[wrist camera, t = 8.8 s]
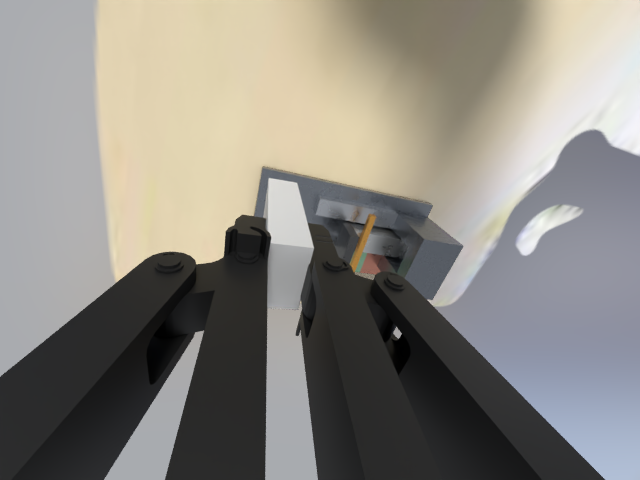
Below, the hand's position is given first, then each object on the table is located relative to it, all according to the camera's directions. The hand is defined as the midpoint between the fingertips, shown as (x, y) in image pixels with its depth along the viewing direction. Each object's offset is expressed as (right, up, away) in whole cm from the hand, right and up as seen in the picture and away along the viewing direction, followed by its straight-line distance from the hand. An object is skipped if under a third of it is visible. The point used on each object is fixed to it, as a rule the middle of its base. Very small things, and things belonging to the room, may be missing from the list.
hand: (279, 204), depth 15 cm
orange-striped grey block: (+11, -1, +27) cm, 29 cm away
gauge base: (+5, 0, +27) cm, 27 cm away
